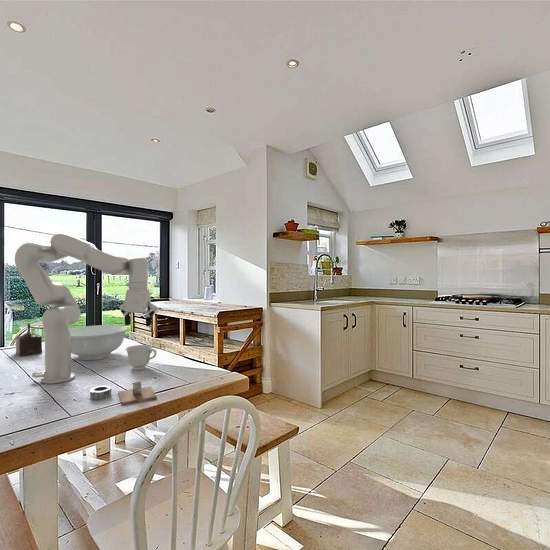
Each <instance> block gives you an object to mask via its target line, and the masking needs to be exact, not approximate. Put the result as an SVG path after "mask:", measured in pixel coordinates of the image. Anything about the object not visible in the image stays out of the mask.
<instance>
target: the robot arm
mask: <svg viewBox="0 0 550 550" xmlns="http://www.w3.org/2000/svg"><path fill="white" fill-rule="evenodd" d="M67 257H70V258H73V259H76V260H79V261H81V262H83V263H85V264H86V265H88V266H89V267H92V268H94V269H95V270H99V271H101V272H104V273H106V274H110V275H126V274H128V282H126V287H128V289H126V292H125V296H124V303H122V304H120V305H118V307H119V310H120V312H121V314H122V316H123V317H124V325H125V327H126V326H129V325H131V323H132V322H131V314H133V313H134V314H135V313H136V314H142V313H143V314H145V316H146V317H145V327H150V326H151V325H152V320H153V319H152V317H153V315H155V314H156V312H157V310H158V306H157V305H155V304H153V303H152V301H151V294H150V290H149V289H148V259H147V258H146V257H125V256H115V255H112V254H109V253H107V252H104V251H102V250H100V249H98V248H97V247H96V245H95V244H93V243H91V242H90V241H89V242H88V241H86V240H83V239H81V238H80V237H79V235H76V234H72V233H66V232H58V233H56V234H53V236H52V237H51V239H50V242H48V243H47V242H39V241H29V242H26V243H23V244H21V245H20V246H19V247H18V248H17V249H16V251H15V253H14V265H15V267H16V268H17V271H18V272H19V274H20V276H21V277H22V278H23V280H24V282H25V284H26V286H27V288H28V290H29V292H30V294H31V295H32V297H33V299H34V301H35V302H36V303H37V304H38V305H39V306H43V307H44V306H45V307H46V306H51V305H52V307H49V308H47V309H46V310H45V311H44V312H43V314H42V318H41V322H42V328H44V329H43V332H44V333H43V334H44V370H41V371H36V372H35V371H34V372H32V378H35V379H37V378H40V383H42V384H45V385H46V384H49V385H50V384H51V385H53V384H61V383H66V382H69V381H72V380H73V379H75V377H76V374H75V373H74V372H72V353H71V335H70V331H69V329H70V328H69V326H71V325H74V324H76V323H77V322H79V320H80V318H81V314H82V313H81V309H80V308H79V305H78V303H77V302H76V299H75V297H74V296H73V293H71V290H70V288H68V287H67V285H65V284H63V283H60V282H53V281H52V280H51V278H50V277H49V274H48V273H47V271H46V270H45V268H43V267H42V266H41V264H40V263H52V262H56V261H59V260H62V259H64V258H67Z"/></svg>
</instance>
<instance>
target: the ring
mask: <svg viewBox="0 0 550 550" xmlns="http://www.w3.org/2000/svg"><path fill="white" fill-rule="evenodd" d="M110 396H111V397H112V387H111V386H110V385H99V386H94V387H92V388H90V390H89V400H91V401H104V400H107V399H109V398H110ZM106 398H107V399H106ZM103 399H104V400H103Z"/></svg>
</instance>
